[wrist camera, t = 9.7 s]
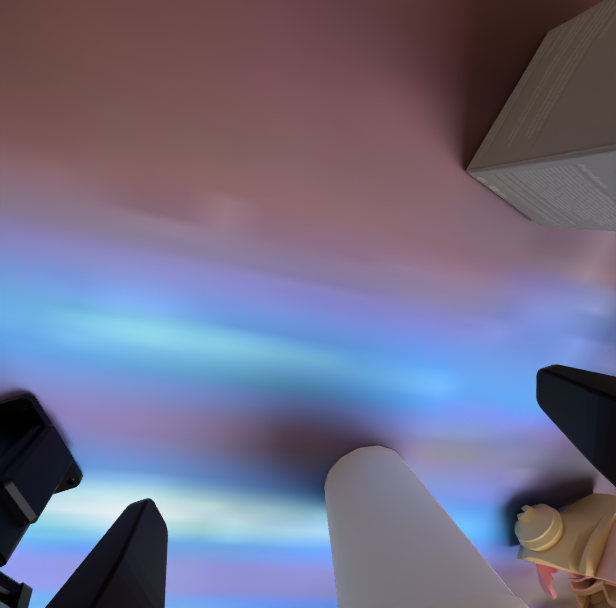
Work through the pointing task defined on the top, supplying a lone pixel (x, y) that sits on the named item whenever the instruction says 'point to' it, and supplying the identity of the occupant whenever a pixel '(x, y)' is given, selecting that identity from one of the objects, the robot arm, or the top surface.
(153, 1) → the top surface
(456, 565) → the foam cup
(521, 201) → the skincare box
